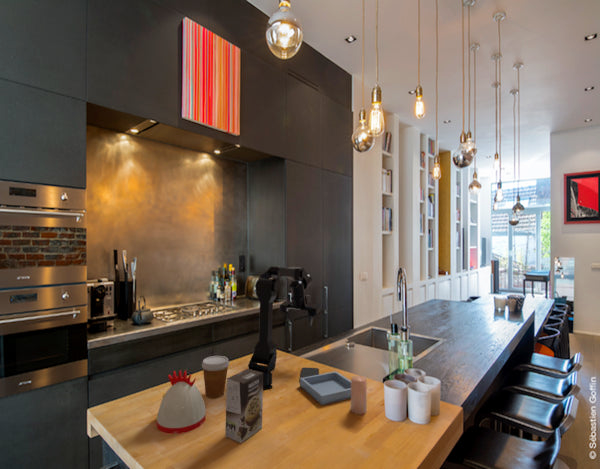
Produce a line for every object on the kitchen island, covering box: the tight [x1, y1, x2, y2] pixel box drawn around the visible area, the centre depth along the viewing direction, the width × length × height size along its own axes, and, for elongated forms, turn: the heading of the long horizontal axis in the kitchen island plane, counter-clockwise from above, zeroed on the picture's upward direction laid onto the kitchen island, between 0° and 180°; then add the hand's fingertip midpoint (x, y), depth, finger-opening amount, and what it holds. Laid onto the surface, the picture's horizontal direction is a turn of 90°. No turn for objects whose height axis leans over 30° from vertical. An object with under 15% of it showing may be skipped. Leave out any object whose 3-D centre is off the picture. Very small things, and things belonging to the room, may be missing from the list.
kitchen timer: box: [156, 369, 207, 435], centre depth 102 cm, size 14×14×15 cm
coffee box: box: [224, 368, 264, 444], centre depth 96 cm, size 9×6×16 cm
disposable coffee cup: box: [201, 355, 230, 399], centre depth 119 cm, size 10×10×12 cm
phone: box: [298, 367, 320, 383], centre depth 136 cm, size 7×1×15 cm
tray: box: [299, 371, 351, 406], centre depth 123 cm, size 16×16×3 cm
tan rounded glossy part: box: [350, 375, 368, 415], centre depth 109 cm, size 5×5×10 cm
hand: (301, 324), depth 157 cm, fingers open, 9 cm apart
